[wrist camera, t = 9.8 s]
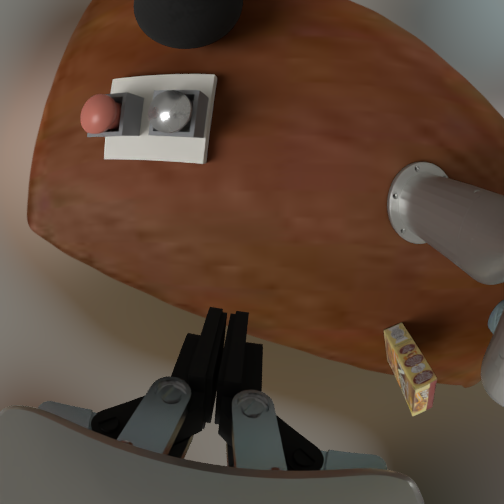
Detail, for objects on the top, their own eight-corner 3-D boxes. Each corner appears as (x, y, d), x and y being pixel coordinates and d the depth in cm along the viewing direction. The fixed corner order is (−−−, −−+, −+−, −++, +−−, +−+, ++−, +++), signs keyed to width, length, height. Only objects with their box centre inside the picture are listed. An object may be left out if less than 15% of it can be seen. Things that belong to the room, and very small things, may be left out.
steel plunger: (205, 99, 29) (193, 90, 24) (200, 135, 31) (187, 133, 26) (169, 98, 29) (151, 90, 24) (164, 133, 31) (145, 132, 26)
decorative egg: (255, -1, 25) (249, -62, 11) (235, 67, 30) (216, 20, 16) (174, -5, 25) (137, -54, 11) (151, 60, 29) (95, 27, 15)
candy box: (382, 329, 44) (413, 391, 29) (402, 320, 43) (438, 379, 29) (386, 359, 46) (411, 417, 32) (405, 351, 46) (433, 407, 31)
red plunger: (138, 98, 29) (115, 92, 23) (133, 133, 30) (110, 132, 25) (108, 101, 29) (83, 96, 23) (104, 134, 30) (78, 134, 25)
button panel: (217, 78, 30) (206, 63, 24) (206, 162, 35) (192, 166, 28) (119, 81, 30) (94, 73, 24) (110, 158, 35) (84, 162, 28)
